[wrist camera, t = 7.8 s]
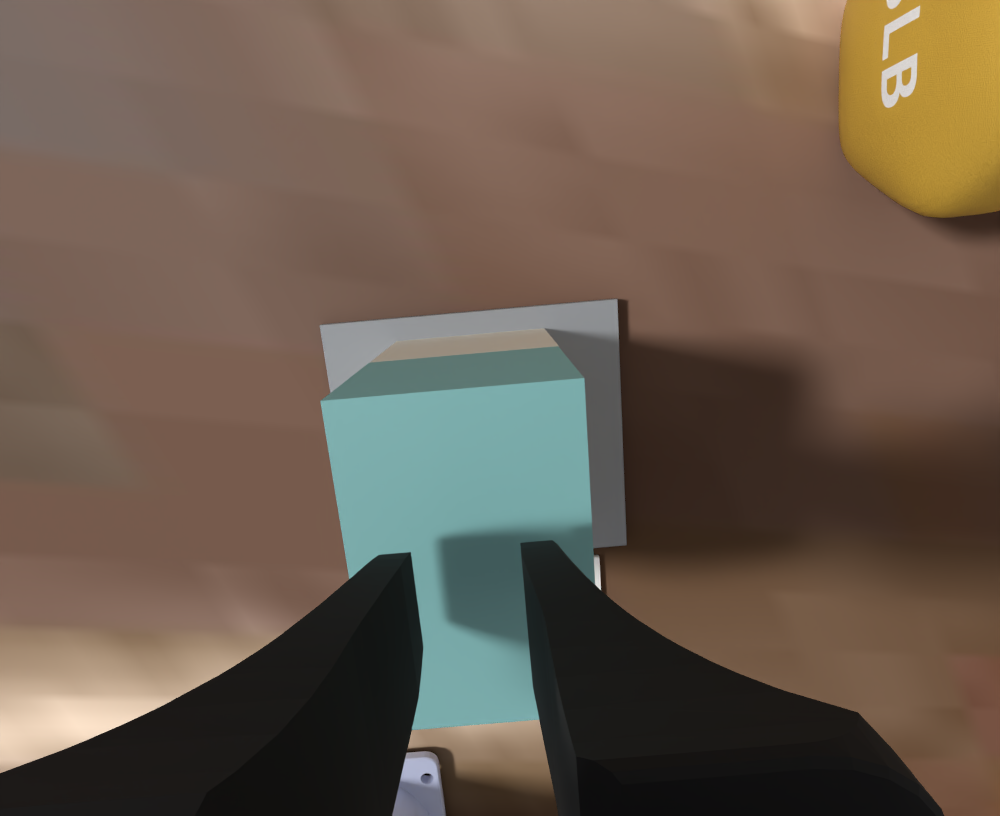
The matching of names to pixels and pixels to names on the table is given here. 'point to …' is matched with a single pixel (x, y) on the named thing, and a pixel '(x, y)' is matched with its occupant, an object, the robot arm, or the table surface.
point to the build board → (578, 333)
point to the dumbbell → (923, 102)
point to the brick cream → (467, 344)
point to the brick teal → (465, 506)
